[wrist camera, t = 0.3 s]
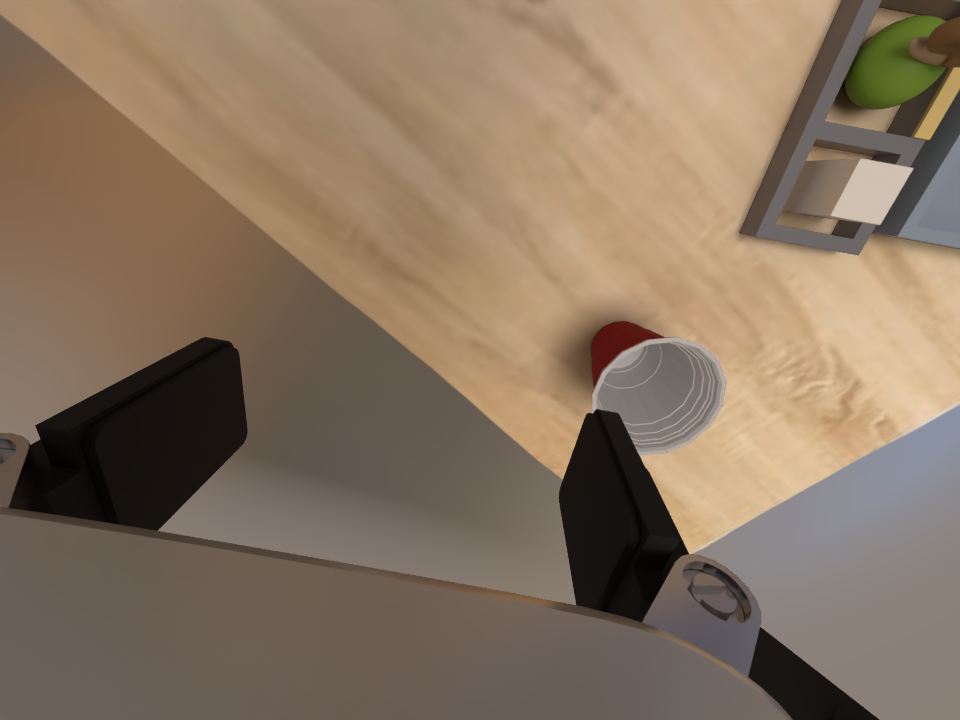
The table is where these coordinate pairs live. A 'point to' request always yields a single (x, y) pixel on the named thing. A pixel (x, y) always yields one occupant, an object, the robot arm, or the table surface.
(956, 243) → the tray
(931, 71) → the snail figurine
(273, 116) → the table surface
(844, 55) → the rack
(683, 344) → the plastic cup
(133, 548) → the robot arm
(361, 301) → the table surface
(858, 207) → the block
